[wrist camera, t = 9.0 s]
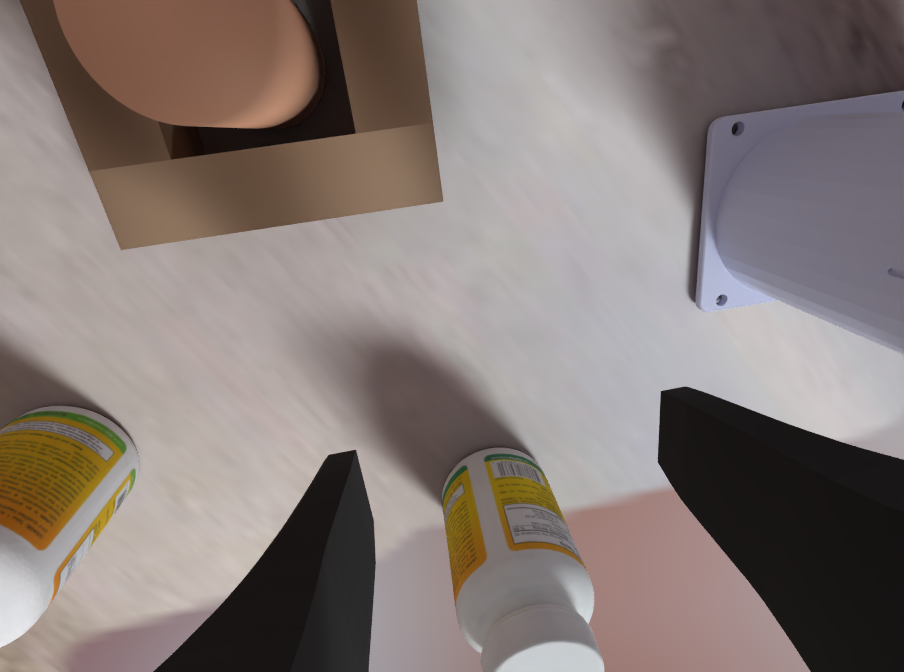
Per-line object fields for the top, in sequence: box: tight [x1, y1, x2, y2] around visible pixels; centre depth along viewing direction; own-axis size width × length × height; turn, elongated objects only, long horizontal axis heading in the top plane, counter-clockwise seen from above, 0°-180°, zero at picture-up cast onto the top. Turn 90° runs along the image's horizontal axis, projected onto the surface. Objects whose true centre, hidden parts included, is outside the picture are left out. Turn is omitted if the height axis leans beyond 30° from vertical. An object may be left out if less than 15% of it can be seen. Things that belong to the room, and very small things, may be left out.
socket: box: [20, 0, 443, 250], centre depth 15 cm, size 10×10×3 cm
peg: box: [53, 0, 325, 129], centre depth 13 cm, size 4×4×8 cm
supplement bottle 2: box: [442, 448, 604, 672], centre depth 20 cm, size 5×5×10 cm
